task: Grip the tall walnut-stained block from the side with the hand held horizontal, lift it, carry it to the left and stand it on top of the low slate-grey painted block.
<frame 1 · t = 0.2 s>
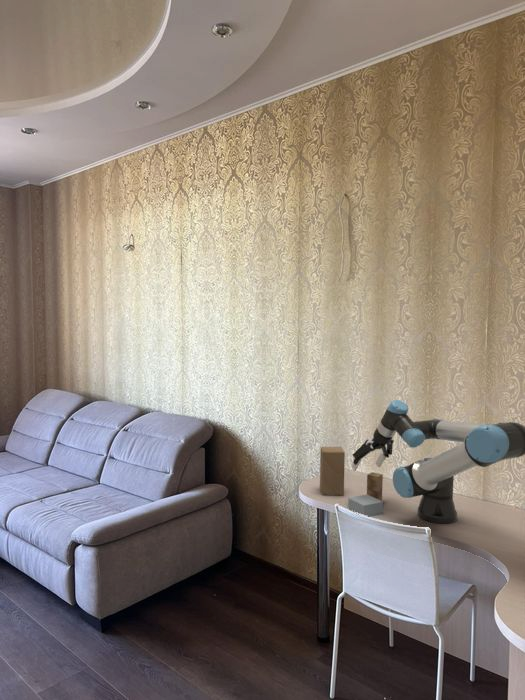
hand: (365, 466, 223), 15 cm above the table, tool tilted 35°, fingers open, 13 cm apart
walnut block: (374, 501, 221), on the table
grey base block: (365, 511, 210), on the table
wooden block: (331, 492, 234), on the table
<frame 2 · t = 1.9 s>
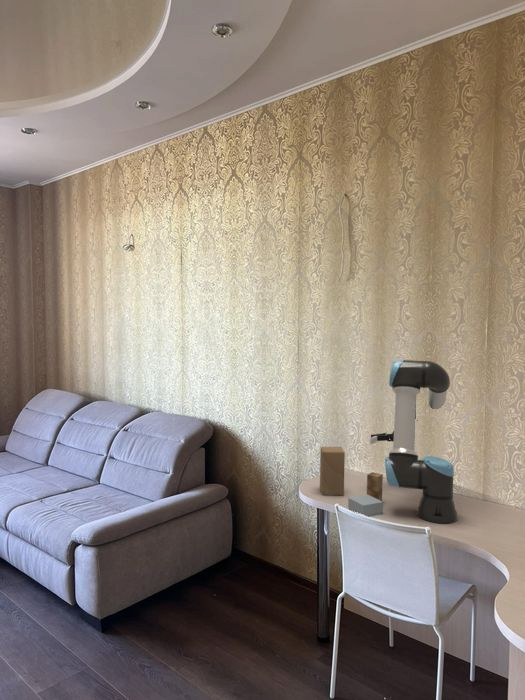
hand: (384, 443, 228), 24 cm above the table, tool horizontal, fingers open, 13 cm apart
nothing on the table moved.
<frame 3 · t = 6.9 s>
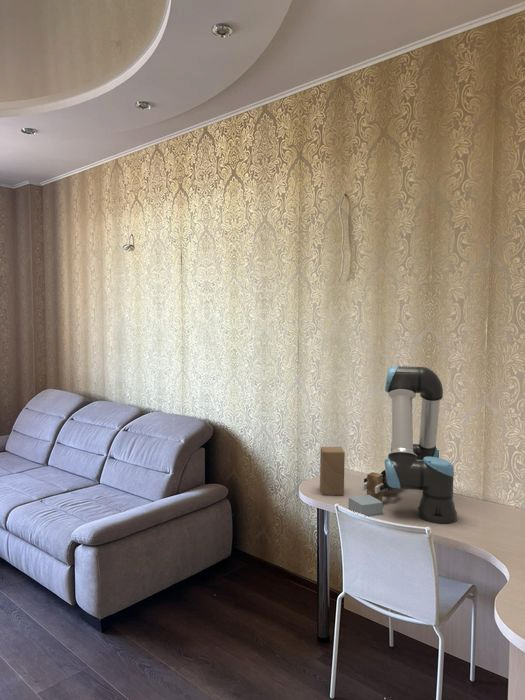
hand: (369, 488, 217), 7 cm above the table, tool horizontal, fingers closed on walnut block, 5 cm apart
walnut block: (374, 501, 221), on the table, touching gripper
everything else where it was.
when the fingers open (13 cm above the table, at t = 11.1 s): walnut block drops 2 cm, resting on grey base block.
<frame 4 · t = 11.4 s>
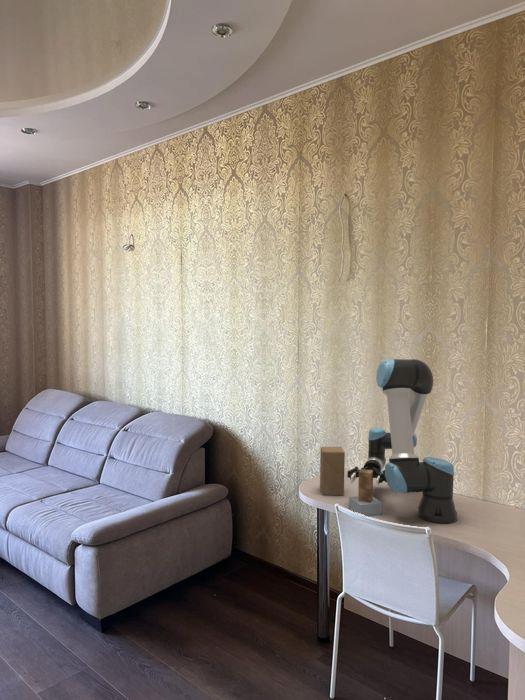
hand: (364, 481, 205), 13 cm above the table, tool horizontal, fingers open, 9 cm apart
walnut block: (365, 499, 210), point 5 cm above the table, touching grey base block
grey base block: (365, 511, 210), on the table, touching walnut block
everything else where it was.
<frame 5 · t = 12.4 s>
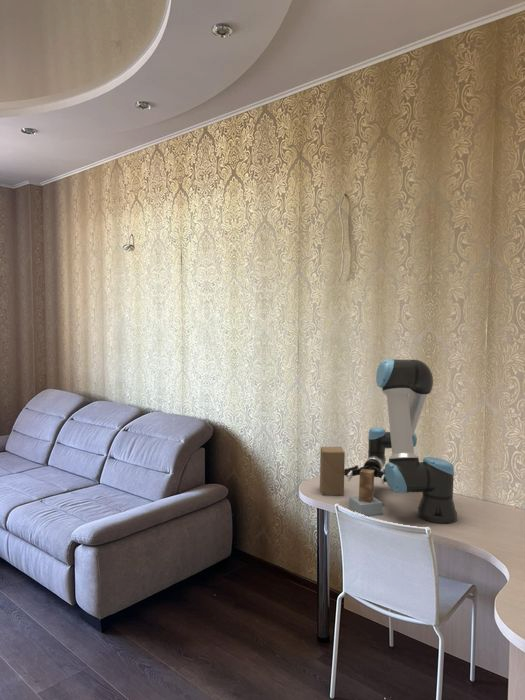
hand: (364, 480, 207), 14 cm above the table, tool horizontal, fingers open, 13 cm apart
walnut block: (365, 499, 210), point 5 cm above the table
grey base block: (365, 511, 210), on the table
everything else where it was.
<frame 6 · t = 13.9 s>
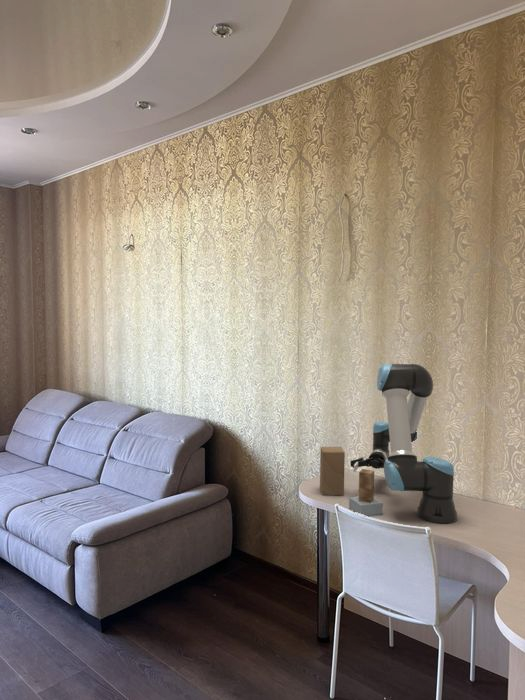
hand: (370, 470, 219), 14 cm above the table, tool horizontal, fingers open, 13 cm apart
nothing on the table moved.
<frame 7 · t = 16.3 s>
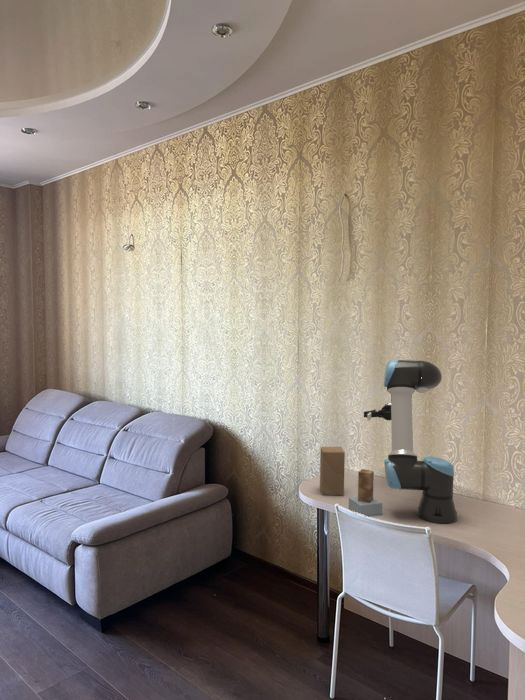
hand: (383, 418, 228), 35 cm above the table, tool horizontal, fingers open, 13 cm apart
walnut block: (365, 500, 209), point 5 cm above the table, touching grey base block
grey base block: (365, 512, 210), on the table, touching walnut block
everything else where it was.
at the end: walnut block 0.1 cm off-centre on the grey base block, point 5.0 cm above the grey base block's base; walnut block tilted 0°; the gripper is holding nothing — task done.
